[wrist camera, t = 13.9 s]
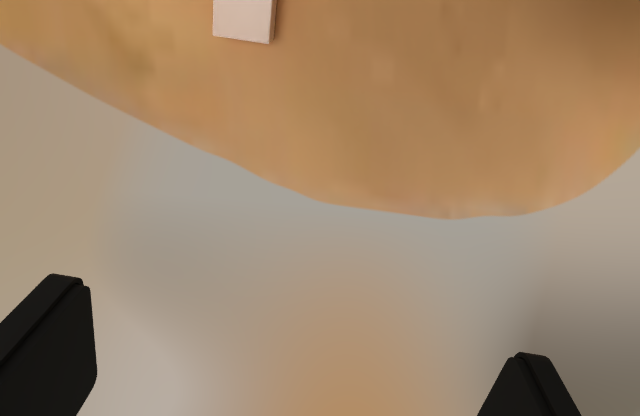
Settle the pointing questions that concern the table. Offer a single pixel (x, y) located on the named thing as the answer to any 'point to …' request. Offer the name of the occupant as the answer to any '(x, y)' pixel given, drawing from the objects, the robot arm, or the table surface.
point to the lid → (245, 19)
